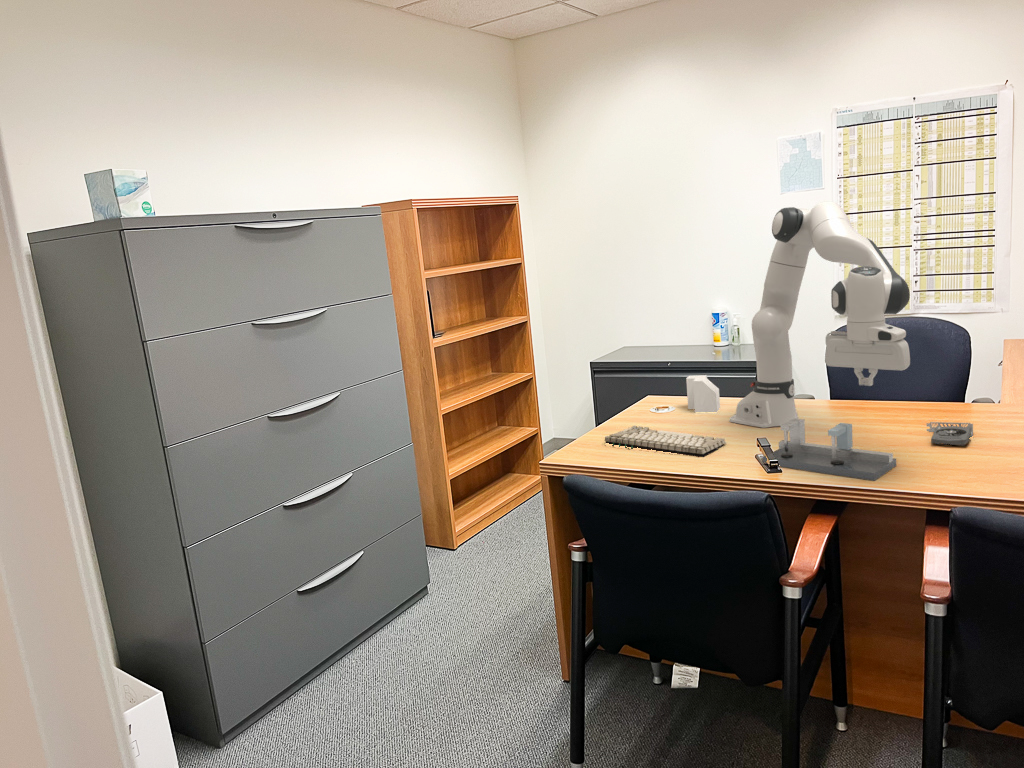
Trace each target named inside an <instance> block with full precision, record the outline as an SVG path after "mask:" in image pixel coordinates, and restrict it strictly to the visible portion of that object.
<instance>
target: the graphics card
mask: <svg viewBox="0 0 1024 768" xmlns="http://www.w3.org/2000/svg"><path fill="white" fill-rule="evenodd" d="M945 425H946V426H945ZM949 425H950V426H949ZM926 427H928V428H927V429H926V432H927V431H929V432H928V433H932V436H931V437H930V440H931V441H930V442H931V443H932V444H935V445H947V444H948V445H949V444H950V445H954V446H966V444H968V443H969V441H970V440H969V438H970V437H972V436H973V434H974V422H973V423H971V422H946V421H945V422H944V421H943V422H941V421H940V422H939V421H938V422H937V421H936V422H935V421H930V422H929V423H927V422H926ZM941 443H943V444H941Z"/></svg>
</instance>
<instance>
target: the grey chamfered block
mask: <svg viewBox="0 0 1024 768" xmlns="http://www.w3.org/2000/svg"><path fill="white" fill-rule="evenodd" d="M685 379H686V393H687V394H686V395H687V396H686V397H687V410H688V409H695V410H694V413H695V412H717V411H718V410H719V411H720V409H721V403H720V400H721V399H720V388H719V387H717V385H715V384H714V383H713V382H712V381H710V380H709V378H708V375H707V374H705V375H704V374H703V375H702V374H701V375H688V376H687V377H686V378H685ZM719 408H720V409H719ZM719 411H718V412H719ZM718 412H717V413H718Z"/></svg>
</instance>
